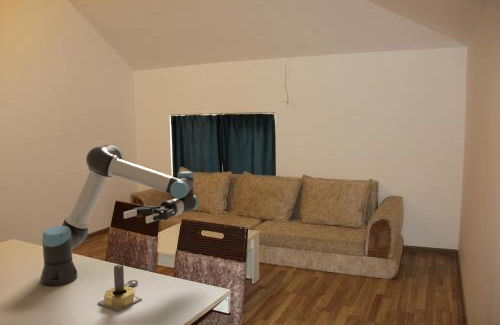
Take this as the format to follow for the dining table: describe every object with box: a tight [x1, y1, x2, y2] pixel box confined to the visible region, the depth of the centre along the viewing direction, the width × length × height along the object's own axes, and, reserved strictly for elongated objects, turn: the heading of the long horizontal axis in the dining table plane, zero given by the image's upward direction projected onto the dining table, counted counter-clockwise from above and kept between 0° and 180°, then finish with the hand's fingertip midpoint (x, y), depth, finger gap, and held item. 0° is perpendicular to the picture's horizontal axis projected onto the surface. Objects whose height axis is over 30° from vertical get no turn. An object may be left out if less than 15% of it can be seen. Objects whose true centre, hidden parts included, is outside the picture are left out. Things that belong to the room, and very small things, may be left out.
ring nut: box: [97, 286, 143, 313], centre depth 160 cm, size 12×12×4 cm
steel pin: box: [113, 264, 125, 295], centre depth 159 cm, size 4×4×14 cm
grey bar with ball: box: [124, 279, 139, 288], centre depth 173 cm, size 14×4×1 cm, turn 147°
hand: (134, 217), depth 167 cm, fingers open, 13 cm apart
